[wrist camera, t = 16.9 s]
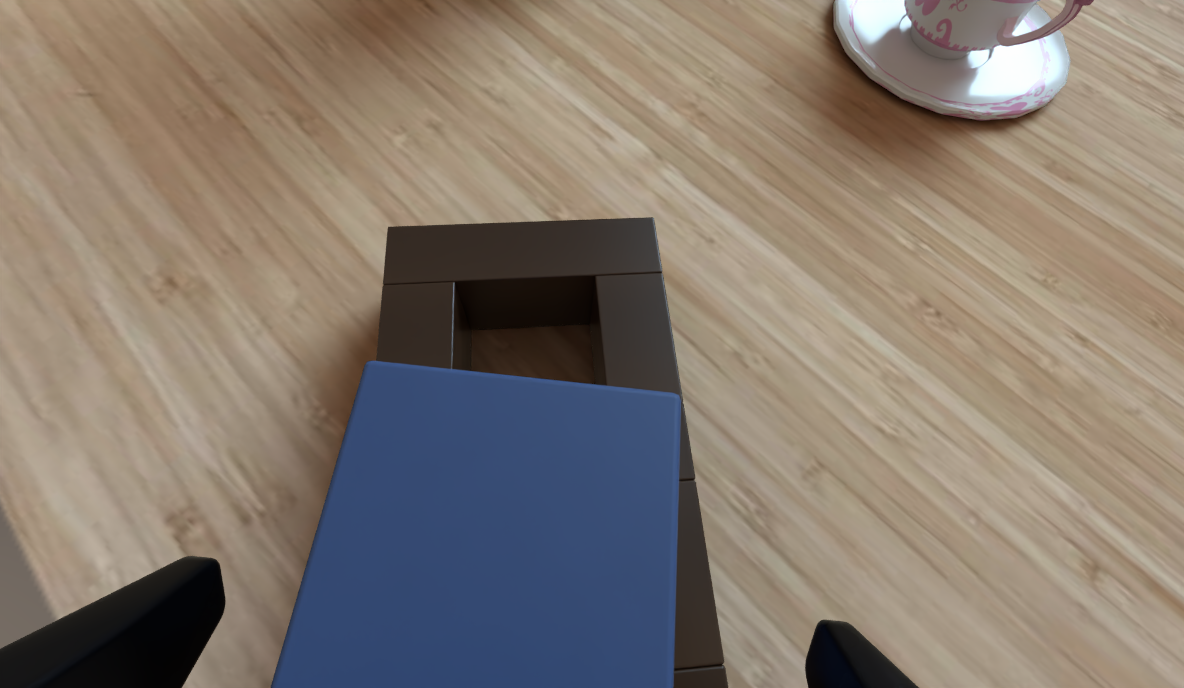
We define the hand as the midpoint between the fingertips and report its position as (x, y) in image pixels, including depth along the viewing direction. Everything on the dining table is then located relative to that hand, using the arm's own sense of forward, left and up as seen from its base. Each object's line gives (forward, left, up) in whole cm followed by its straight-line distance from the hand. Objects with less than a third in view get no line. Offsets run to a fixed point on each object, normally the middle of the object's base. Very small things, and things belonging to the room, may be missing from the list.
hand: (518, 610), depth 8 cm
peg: (+1, 0, -9) cm, 9 cm away
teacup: (+25, -22, -9) cm, 35 cm away
